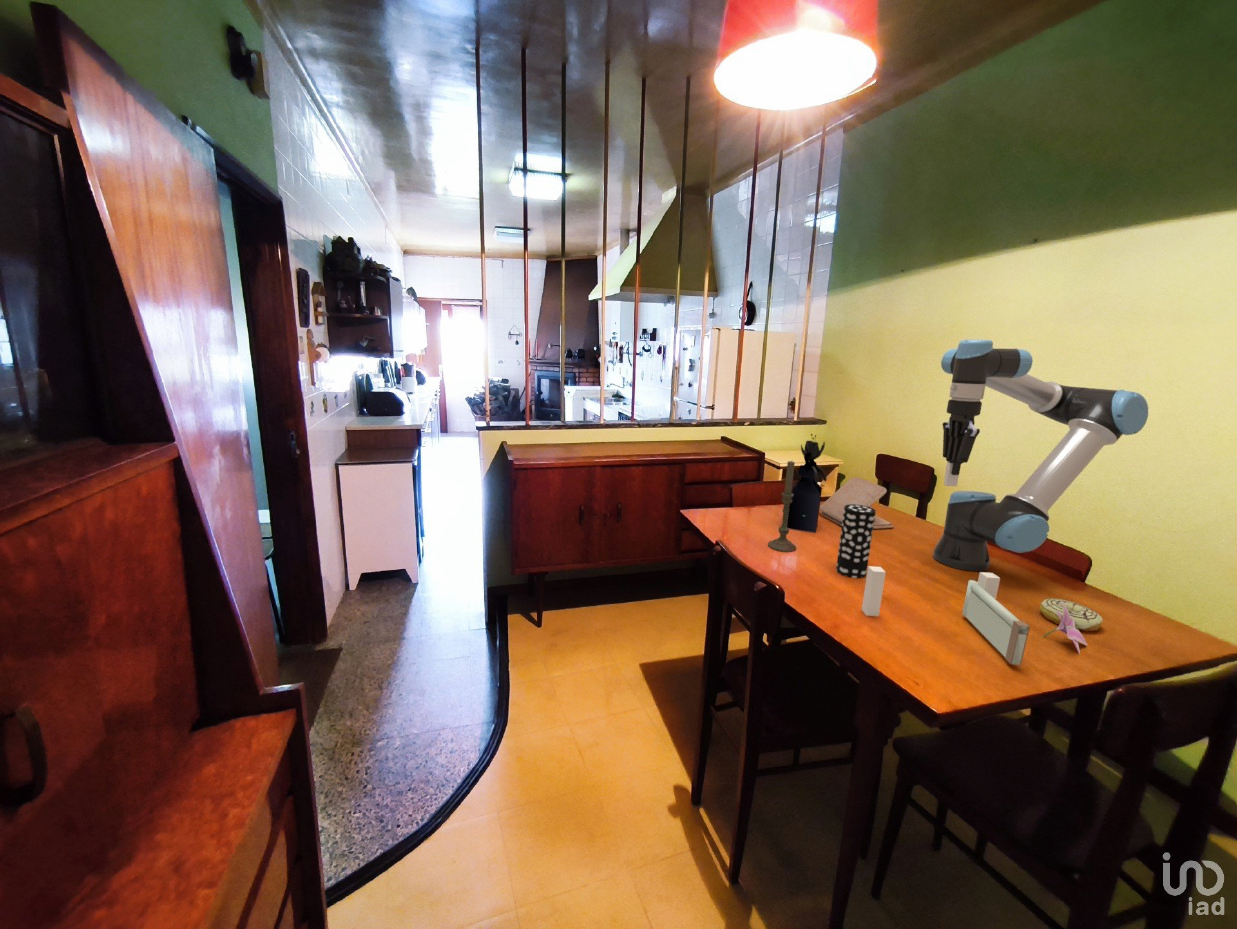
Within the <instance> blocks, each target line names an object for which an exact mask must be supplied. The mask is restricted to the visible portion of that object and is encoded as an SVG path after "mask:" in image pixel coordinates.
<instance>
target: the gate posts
mask: <svg viewBox="0 0 1237 929" xmlns="http://www.w3.org/2000/svg"><path fill="white" fill-rule="evenodd" d="M885 579H886V571H885V570H884V569H883V568H882V567H881V566H871V565H870V566H869V565H868V566H867V573H866V579H865V583H864V584H865V585H864V586H865V587H864V592H863V598H862V599H863V600H862V606H861V611H862V612H863V613H864V615H865V616H867V617H879V616H880V610H881V605H882V598H883V592H884V585H885ZM1000 581H1001V578H1000V577H999V576H998V575H997V574H994V573H993V572H984V571H979V574H978V580H977V582H978V585H979V586H980V587H981V588H983V589H984V590H985V591H986V592H987V593H988V594H990V595H991V596H992V597H993V598H994V599H995V600H996V599H997V595H998V591H999V585H1000Z"/></svg>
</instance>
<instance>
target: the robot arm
mask: <svg viewBox="0 0 1237 929" xmlns="http://www.w3.org/2000/svg"><path fill="white" fill-rule="evenodd" d="M993 345H994V342H993V341H992V340H989V339H963V340H961V341H960V342H958V346H957V348H951V349H949V350H947V351H946V352H945V353H944V354H943V356H942V358H941V362H940V365H941V368H942V370H943V372H944V373H946V374H948V375H952V379H951V384H950V387H949V398H951V399H949V400H947V407H946V413H947V414H949V415H950V417H949V419H948V421H947V422H945V421H944V422H942V428H943V438H942V439H943V440H942V457H943V458H944V459H945V460H946V467H945V468H946V469H945V474H944V478H943V479H944V480H943V485H944V486H946V487H958V481H959V478H960V477H959V475H960V472H961V466H962V464H964V463H968V462H969V459H970V455H971V453H972V450H973V447H974V445H975V441H976V439H977V437H978V436H979V434H980V432H981V431H980V428H976V427H975V423H976V422H975V418H976V416H977V417H978V416H980V415H981V411H982V406H983V402H982V401H981V400H983V399H984V397H985V396H984V395H985V390H986V389H985V388H986V387H987V388H990V389H992V390H994V391H996V392H998V393H1001V394H1003V395H1005V396H1007V397H1009V398H1012V399H1015V400H1017V401H1019V402H1022V403H1023V404H1026V405H1028V406H1027V407H1028V408H1029V409H1030V411H1032V412H1035V413H1037V414H1040V415H1042V416H1044V417H1046V418H1048V419H1050V420H1053V421H1055V422H1057V423H1060V424H1064V425H1066V426H1068V428H1069V431H1068V432H1067V433H1065V435H1064V436H1063V437H1062V439H1061V440H1060V441H1059V442H1058V443H1057V445H1055V447H1054V448H1053V449H1052V450H1051V451H1050V453H1048V455H1047V456H1046V457H1045V458H1044V459H1043V461H1042V462H1041V463H1040V464H1039V465H1038V467H1037V468H1036V469H1035V470H1034V471H1033V472H1032V474H1031V475H1030V476H1029V477H1028V478H1027V479H1026V481H1025V482H1024V483H1023V484H1022V485H1021V486H1020V488H1019V489H1018V490H1017V491H1016V492H1015V493H1011V494H1010V493H1009V494H1006V495H1004V497H1003V498H1002V499H1001V501H1000V502H996V501H997V496H996V495H995V494H993V493H990V492H982V491H974V490H973V491H971V490H959V491H958V490H957V491H954V492H952V493H951V494H950V496H949V501H948V502H947V509H946V516H945V522H944V527H943V534H942V535H941V538H940V539H939V541H938V542H937V544H936V546H935V547H934V549H933V553H932V558H933V559H934V560H935V561H936V562H938V563H940V564H943V565H945V566H947V567H951V568H953V569H957V570H962V571H968V572H984V571H987V570H989V568H990V564H991V563H990V562H991V559H990V555H989V548H988V542H989V543H991V544H993V545H996V546H998V547H1000V548H1002V549H1004V550H1009V551H1011V552H1014V553H1019V554H1020V553H1021V554H1022V553H1029V552H1031V551H1035V550H1036V549H1038V548H1039V547H1040V546H1041V545H1042V544H1044V543H1045V542H1046V540H1047V538H1048V537H1049V534H1048V533H1050V525H1049V522H1048V521H1049V520H1050V515H1049V513H1048V511H1049V510H1050V509H1051V508H1052V507H1053V505H1054V504H1056V502H1057V500H1059V498H1061V496H1062V495H1063V494H1064V493H1065V491H1067V490H1068V488H1069V487H1070V486H1071V485H1072V483H1073V482H1074V481H1075V480H1076V479H1077V478H1078V477H1079V476H1080V474H1081V473H1082V472H1083V471H1084V469H1085V468H1086V467H1087V466H1088V465H1089V464H1090V463H1091V462H1092V460H1093V459H1094V458H1095V457H1096V456H1097V454H1098V453H1099V452H1100V451H1101V450H1102V448H1103V447H1104V446H1108V445H1110V446H1112V445H1115V444H1116V443H1117V441H1119V439H1120V438H1121V437H1122V436H1123V435H1124V436H1132V435H1136V434H1138V433H1139V432H1140V431H1141V430H1142V429H1144V427H1145V425H1146V424H1147V420H1148V419H1149V418H1148V417H1149V405H1148V401H1147V399H1146V398H1145V397H1144V396H1143V395H1142V394H1140V393H1139V392H1136V391H1129V390H1124V389H1118V390H1117V389H1107V388H1106V389H1105V388H1096V387H1095V388H1092V387H1085V386H1084V387H1080V386H1070V385H1069V386H1068V385H1063V384H1060V383H1057V382H1054V381H1044V380H1042V379H1039V378H1037V377H1035V376H1032V375H1030V374H1028V373H1029V372H1030V370H1031V368H1032V365H1033V362H1034V361H1033V356H1032V354H1031V353H1030V352H1029V351H1028V350H1027V349H1019V348H1017V347H1016V348H994V346H993Z"/></svg>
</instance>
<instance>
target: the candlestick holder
mask: <svg viewBox="0 0 1237 929" xmlns="http://www.w3.org/2000/svg"><path fill="white" fill-rule="evenodd" d="M794 471H795V461H793V460H789V461H787V465H786V474H785V484H784V492H781V496H782V498H781V502H782V503H783V504H784V505H783V507H782V523H781V526H779V527H778V534H779V537H777V538H774V539H772V540H769V541H768V543H767V546H768V548H770V549H771V550H773V551H777V552H781V553H792V552H795V551H796V550H797V546H796V544H794V543H793V542H792V541H791V540H789V539H788V538H787V535H788V534H789V533H790V529H789V528H787V520H788V513H789V504H790V503H792V497H793V496H794V494H792V493H791V492H792V487H793V483H794V482H793V481H794Z"/></svg>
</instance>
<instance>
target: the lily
mask: <svg viewBox="0 0 1237 929" xmlns="http://www.w3.org/2000/svg"><path fill="white" fill-rule="evenodd" d="M1062 600H1063V599H1061V602H1062V605H1063V619H1062V614H1061V613H1060V612H1058V611H1057V610H1055V612H1056V613H1057V615H1058V616H1059V618H1060V619H1061V623H1060V625H1058V627H1057V628H1055V629H1053V630H1050V631H1049V632H1047V633H1045V634H1044V635H1043V636H1042V637H1043V638H1045V637H1047V636H1049V635H1050V634H1052V633H1053V632H1055V631H1061V633H1064V634H1065V635H1066V636H1067V639H1069V640H1071V641H1072V642H1073V644H1074V646H1075V648H1076V650H1077V652H1078V654H1079V655H1080V654H1081V650H1080V647H1079V643H1081V644H1083V645H1085V646H1086V647H1088V643H1087V642H1086V640H1085V637H1084V636H1083V634H1082V633H1081V632H1080V631H1081V630H1077V629H1076V628H1075V626H1076V625H1075V623H1074V620H1073V618H1072V617H1070V615H1069V612H1068V609H1067V607H1066V606H1065V604H1064V602H1063V601H1062Z"/></svg>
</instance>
